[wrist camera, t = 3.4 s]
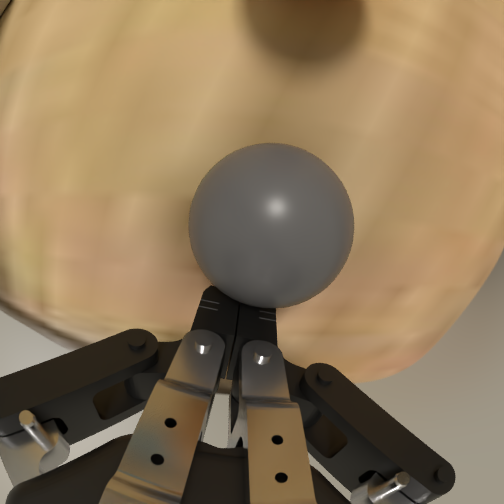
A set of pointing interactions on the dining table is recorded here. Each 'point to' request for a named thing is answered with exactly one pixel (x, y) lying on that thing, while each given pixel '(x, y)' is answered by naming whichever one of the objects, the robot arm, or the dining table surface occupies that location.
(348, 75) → the dining table surface
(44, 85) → the dining table surface
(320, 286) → the grey rubber ball
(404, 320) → the dining table surface
